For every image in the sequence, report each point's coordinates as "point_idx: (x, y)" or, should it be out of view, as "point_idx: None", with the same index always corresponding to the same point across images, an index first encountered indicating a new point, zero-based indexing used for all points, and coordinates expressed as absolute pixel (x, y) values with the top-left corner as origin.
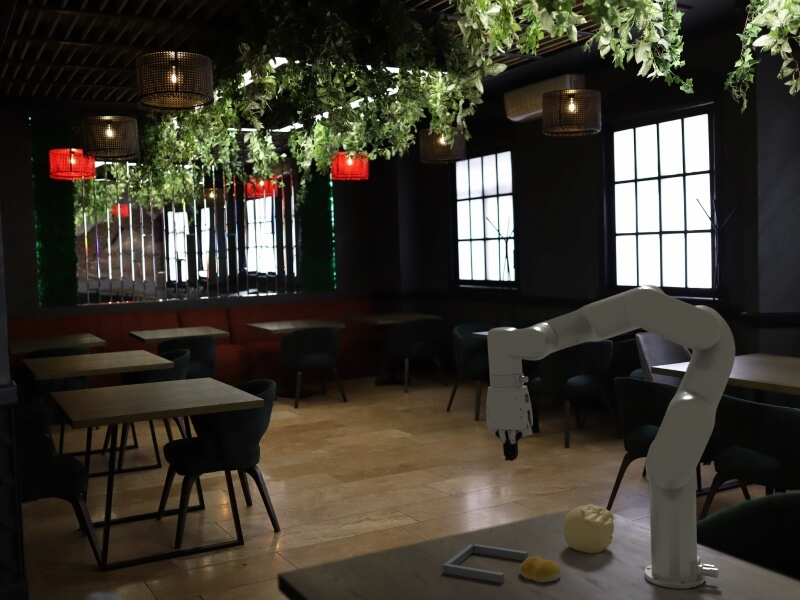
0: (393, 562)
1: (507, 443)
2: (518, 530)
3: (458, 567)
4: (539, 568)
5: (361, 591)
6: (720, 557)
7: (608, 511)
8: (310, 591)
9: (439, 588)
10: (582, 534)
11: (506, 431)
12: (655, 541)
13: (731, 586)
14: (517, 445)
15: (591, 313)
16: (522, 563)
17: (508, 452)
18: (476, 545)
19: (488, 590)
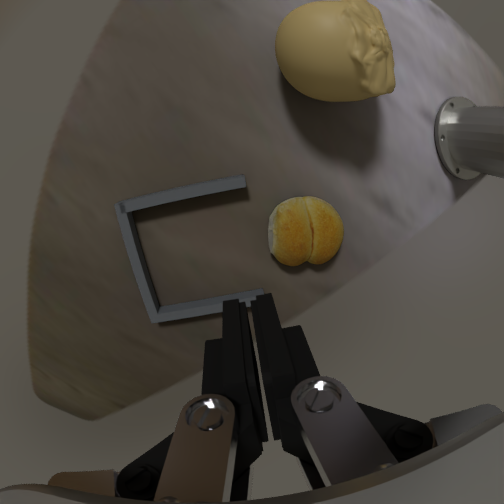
0: (69, 320)
1: (259, 438)
2: (135, 45)
3: (180, 318)
4: (319, 259)
5: (125, 402)
6: (471, 45)
7: (379, 16)
8: (90, 417)
9: (193, 358)
10: (349, 100)
11: (215, 494)
12: (494, 171)
13: None
14: (316, 371)
15: None
16: (279, 253)
17: (260, 391)
18: (131, 208)
19: None
